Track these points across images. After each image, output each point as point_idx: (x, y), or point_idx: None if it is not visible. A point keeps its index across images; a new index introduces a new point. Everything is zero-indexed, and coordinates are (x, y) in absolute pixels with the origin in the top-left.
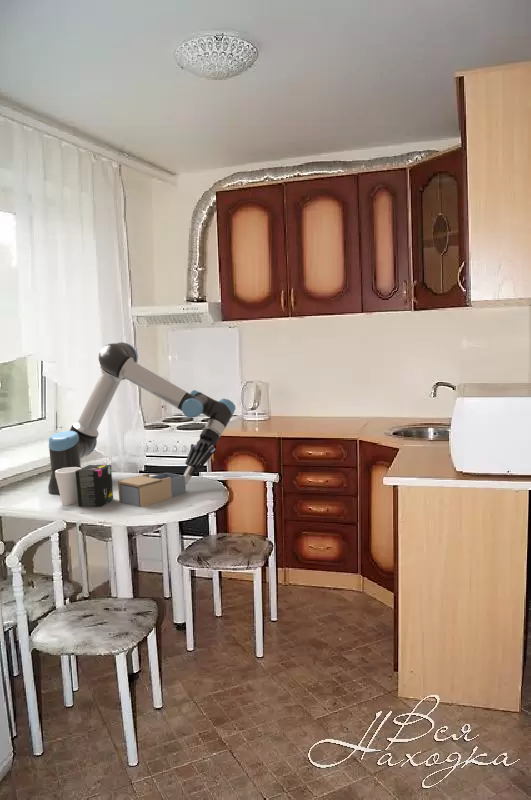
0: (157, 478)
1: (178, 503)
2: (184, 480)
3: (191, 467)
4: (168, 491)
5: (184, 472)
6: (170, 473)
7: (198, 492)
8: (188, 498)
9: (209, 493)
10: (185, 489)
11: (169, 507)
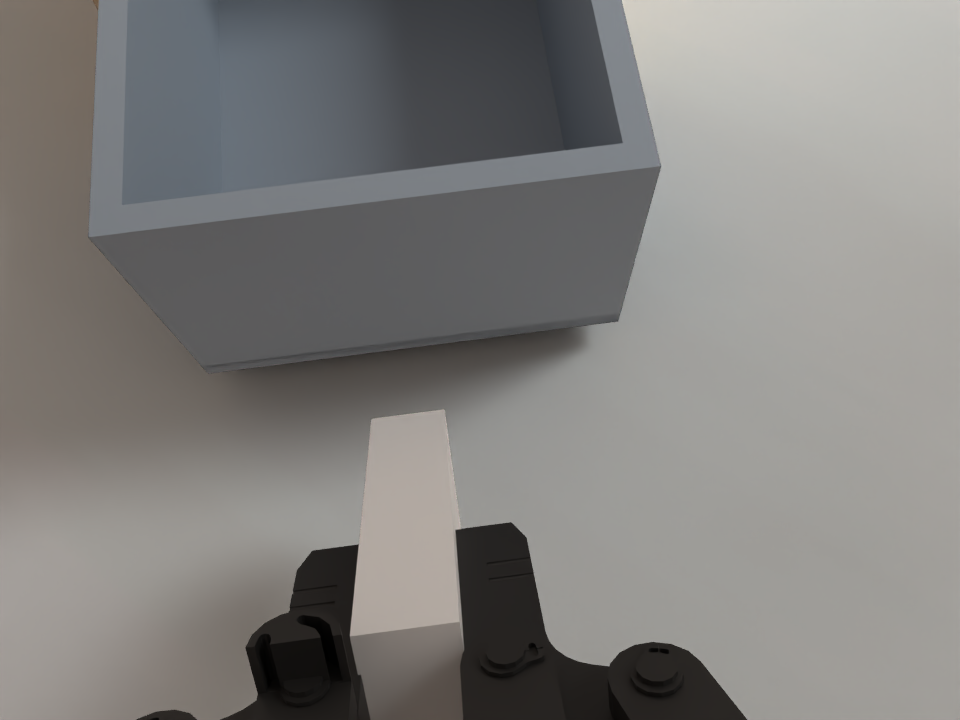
0: (578, 6)
1: (34, 140)
2: (129, 271)
3: (353, 640)
4: None
5: (511, 529)
6: (512, 173)
7: (213, 632)
8: (91, 336)
9: (3, 709)
10: (186, 346)
11: (7, 7)
